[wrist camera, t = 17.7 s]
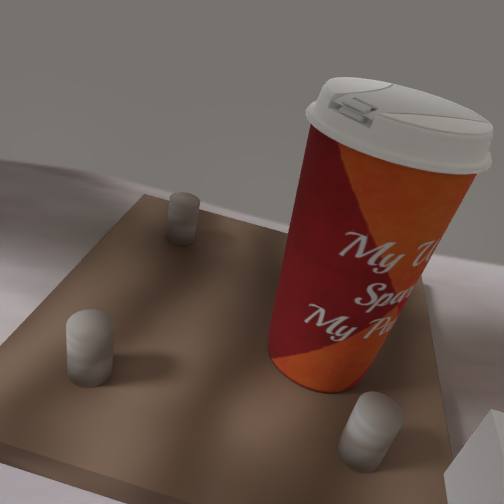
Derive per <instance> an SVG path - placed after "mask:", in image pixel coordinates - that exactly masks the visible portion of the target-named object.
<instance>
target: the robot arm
mask: <svg viewBox="0 0 504 504" xmlns="http://www.w3.org/2000/svg"><path fill="white" fill-rule="evenodd" d="M444 480H445V487H446V494H447V500H448V504H504V412H500V411H497V410H494V409H490V411H489V412H488V413H487V415H486V416H485V417H484V419H483V420H482V422H481V423H480V424H479V426H478V427H477V428H476V430H475V431H474V433H473V434H472V435H471V437H470V438H469V440H468V441H467V442H466V444H465V445H464V446H463V448H462V449H461V451H460V452H459V453H458V455H457V456H456V457H455V459H454V460H453V462H452V463H451V464H450V466H449V467H448V469H447V470H446V471H445V473H444Z"/></svg>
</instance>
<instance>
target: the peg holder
mask: <svg viewBox="0 0 504 504" xmlns="http://www.w3.org/2000/svg"><path fill="white" fill-rule="evenodd" d="M199 205H200V200H199V198H198V197H196V196H194V195H192V194H189V193H175V194H173V195H171V196H170V201H167V200H164V199H160V198H156V197H153V196H149V195H145V194H144V195H143V196H142V197H141V198H140V199H139V200H138V202H137V203H136V204H135V205H134V206H133V207H132V208H131V209H130V210H129V211H128V212H127V213H126V214H125V215H124V216H123V217H122V218H121V219H120V221H119V222H118V223H117V224H116V225H115V226H114V227H113V228H112V229H111V230H110V231H109V232H108V233H107V234H106V235H105V236H104V237H103V238H102V239H101V241H100V242H99V243H98V244H97V245H96V246H95V247H94V248H93V249H92V250H91V251H90V252H89V253H88V254H87V255H86V256H85V257H84V258H83V259H82V261H81V262H80V263H79V264H78V265H77V266H76V267H75V268H74V269H73V270H72V271H71V272H70V273H69V274H68V275H67V276H66V277H65V278H64V280H63V281H62V282H61V283H60V284H59V285H58V286H57V287H56V288H55V289H54V290H53V291H52V292H51V293H50V294H49V295H48V296H47V297H46V298H45V300H44V301H43V302H42V303H41V304H40V305H39V306H38V307H37V308H36V309H35V310H34V311H33V312H32V313H31V314H30V315H29V316H28V317H27V319H26V320H25V321H24V322H23V323H22V324H21V325H20V326H19V327H18V328H17V329H16V330H15V331H14V332H13V333H12V334H11V335H10V336H9V337H8V339H7V340H6V341H5V342H4V343H3V344H2V345H1V346H0V463H3V464H6V465H9V466H13V467H16V468H19V469H22V470H25V471H28V472H31V473H34V474H37V475H40V476H44V477H47V478H50V479H53V480H56V481H59V482H62V483H65V484H68V485H71V486H75V487H78V488H81V489H84V490H87V491H90V492H93V493H96V494H99V495H102V496H106V497H109V498H112V499H115V500H118V501H121V502H124V503H127V504H448V500H447V494H446V487H445V480H444V473H445V471H446V470H447V469H448V467H449V466H450V464H451V463H452V462H453V460H452V454H451V448H450V442H449V436H448V430H447V424H446V418H445V412H444V406H443V401H442V395H441V389H440V383H439V377H438V371H437V365H436V359H435V353H434V347H433V342H432V336H431V330H430V324H429V318H428V312H427V306H426V300H425V294H424V288H423V283H422V277H421V276H420V278H419V280H418V282H417V283H416V285H415V287H414V289H413V291H412V292H411V294H410V296H409V298H408V300H407V301H406V303H405V305H404V307H403V309H402V310H401V312H400V314H399V316H398V318H397V319H396V321H395V323H394V325H393V327H392V328H391V330H390V332H389V334H388V335H387V337H386V339H385V341H384V343H383V344H382V346H381V348H380V350H379V351H378V353H377V355H376V357H375V358H374V360H373V362H372V363H371V365H370V367H369V368H368V370H367V372H366V373H365V375H364V376H363V378H362V379H361V380H360V382H359V383H358V384H357V385H355V386H354V387H353V388H351V389H349V390H346V391H343V392H337V393H324V392H318V391H313V390H310V389H307V388H304V387H302V386H300V385H298V384H296V383H294V382H293V381H291V380H290V379H288V378H287V377H286V376H284V375H283V374H282V373H281V372H280V371H279V370H278V369H277V368H276V366H275V365H274V363H273V362H272V360H271V358H270V356H269V352H268V335H269V328H270V323H271V317H272V312H273V307H274V302H275V297H276V291H277V286H278V281H279V276H280V271H281V266H282V262H283V257H284V252H285V247H286V242H287V237H288V234H287V233H283V232H280V231H276V230H273V229H269V228H265V227H262V226H258V225H254V224H251V223H247V222H243V221H240V220H236V219H233V218H229V217H225V216H222V215H218V214H214V213H211V212H207V211H204V210H200V209H199Z"/></svg>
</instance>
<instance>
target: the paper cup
mask: <svg viewBox="0 0 504 504" xmlns="http://www.w3.org/2000/svg"><path fill="white" fill-rule="evenodd" d="M391 86H392V87H391ZM306 117H307V119H308V121H309V122H310V123H311V125H310V130H309V135H308V140H307V145H306V149H305V154H304V159H303V164H302V169H301V174H300V179H299V184H298V188H297V193H296V199H295V204H294V208H293V213H292V218H291V222H290V227H289V232H288V237H287V242H286V247H285V252H284V257H283V262H282V266H281V271H280V276H279V281H278V286H277V291H276V297H275V302H274V307H273V312H272V317H271V323H270V328H269V335H268V352H269V356H270V358H271V360H272V362H273V363H274V365H275V366H276V368H277V369H278V370H279V371H280V372H281V373H282V374H283V375H284V376H286V377H287V378H288V379H290V380H291V381H293V382H294V383H296V384H298V385H300V386H302V387H304V388H307V389H310V390H313V391H318V392H324V393H337V392H343V391H346V390H349V389H351V388H353V387H354V386H355V385H357V384H358V383H359V382H360V380H361V379H362V378H363V376H364V375H365V373H366V372H367V370H368V368H369V367H370V365H371V363H372V362H373V360H374V358H375V357H376V355H377V353H378V351H379V350H380V348H381V346H382V344H383V343H384V341H385V339H386V337H387V335H388V334H389V332H390V330H391V328H392V327H393V325H394V323H395V321H396V319H397V318H398V316H399V314H400V312H401V310H402V309H403V307H404V305H405V303H406V301H407V300H408V298H409V296H410V294H411V292H412V291H413V289H414V287H415V285H416V283H417V282H418V280H419V278H420V276H421V274H422V272H423V271H424V269H425V267H426V265H427V263H428V262H429V260H430V258H431V256H432V254H433V252H434V251H435V249H436V247H437V245H438V243H439V242H440V240H441V238H442V236H443V234H444V233H445V231H446V229H447V227H448V225H449V223H450V222H451V220H452V218H453V216H454V214H455V212H456V211H457V209H458V207H459V205H460V204H461V202H462V200H463V198H464V196H465V194H466V193H467V191H468V189H469V187H470V185H471V184H472V182H473V180H474V178H475V176H476V174H477V173H480V172H484V171H486V170H487V169H489V168H490V166H491V164H492V161H491V160H492V158H491V154H490V152H489V151H488V149H489V146H490V143H491V140H492V136H493V126H492V124H490V122H488V121H487V120H485V118H483V117H482V116H480V115H479V114H477V113H475V112H473V111H472V110H470V109H467V108H466V107H463V106H461V105H458V104H456V103H454V102H451V101H449V100H446V99H443V98H441V97H438V96H435V95H432V94H429V93H426V92H422V91H419V90H415V89H411V88H408V87H404V86H400V85H396V84H391V83H387V82H382V81H376V80H370V79H363V78H351V77H339V78H332V79H330V80H328V81H327V82H326V83H325V84H324V86H323V88H322V90H321V93H320V95H319V97H318V100H317V101H314V102H313V103H311V104H310V106H309V107H308V108H307V110H306Z"/></svg>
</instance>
